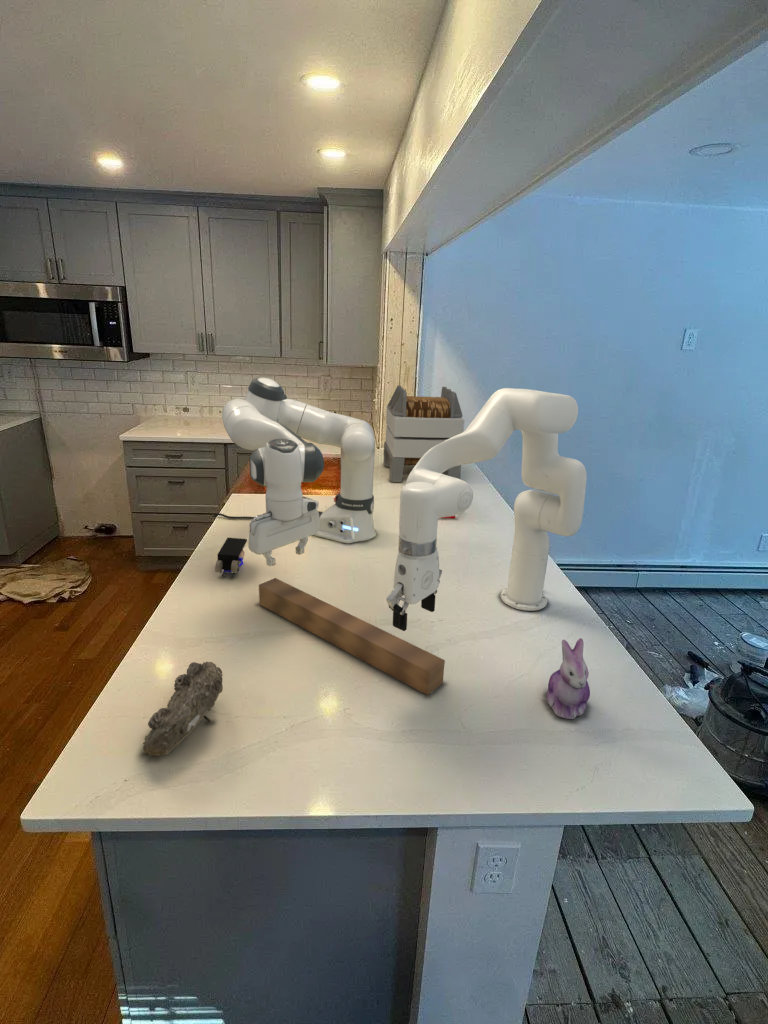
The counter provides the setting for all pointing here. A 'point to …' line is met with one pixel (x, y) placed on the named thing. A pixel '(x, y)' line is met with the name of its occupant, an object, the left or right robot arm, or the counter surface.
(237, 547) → the figurine character
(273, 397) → the left robot arm
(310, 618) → the beam
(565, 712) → the figurine
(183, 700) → the fossil
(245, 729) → the counter surface
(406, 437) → the transformer
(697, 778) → the counter surface
